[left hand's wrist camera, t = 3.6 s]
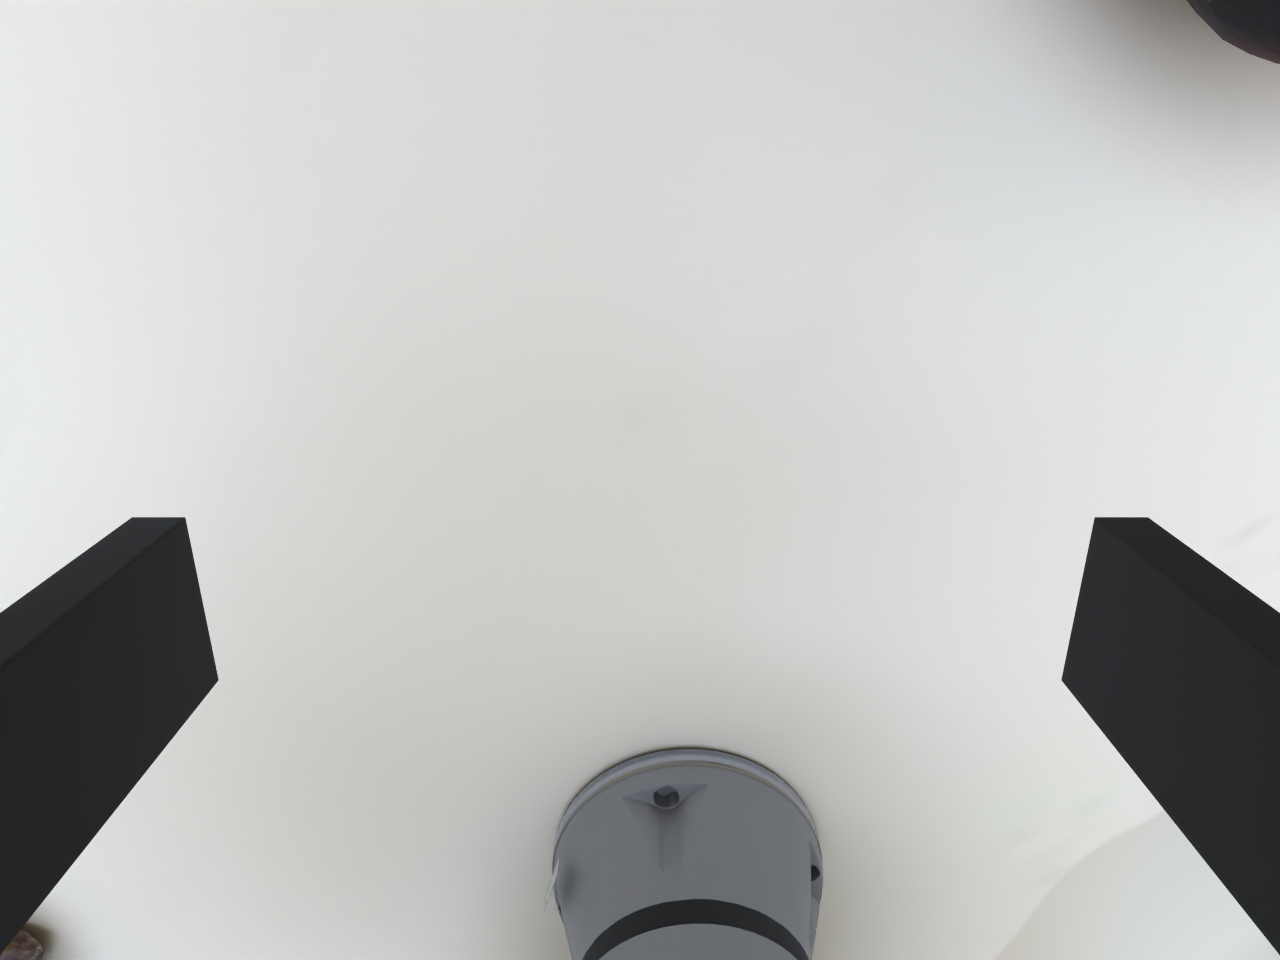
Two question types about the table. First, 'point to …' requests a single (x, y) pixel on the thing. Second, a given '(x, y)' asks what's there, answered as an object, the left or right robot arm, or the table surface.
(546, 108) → the table surface
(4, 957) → the rock
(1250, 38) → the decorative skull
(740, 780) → the right robot arm
